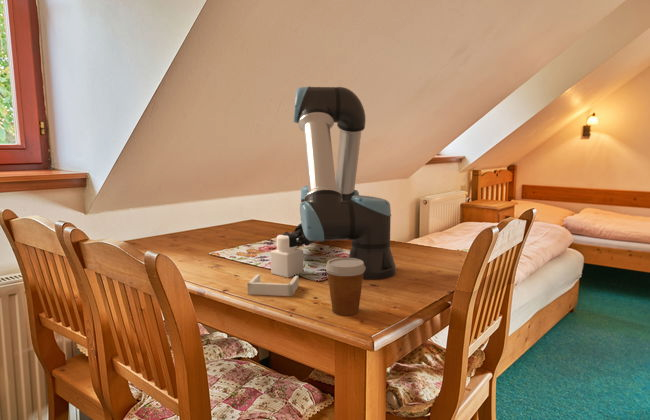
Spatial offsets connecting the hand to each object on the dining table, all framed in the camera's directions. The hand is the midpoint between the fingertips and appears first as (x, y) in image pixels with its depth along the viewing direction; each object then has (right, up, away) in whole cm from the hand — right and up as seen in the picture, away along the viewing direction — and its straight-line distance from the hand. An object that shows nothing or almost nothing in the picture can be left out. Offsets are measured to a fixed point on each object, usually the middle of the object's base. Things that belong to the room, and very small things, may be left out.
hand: (292, 246), depth 154 cm
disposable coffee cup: (+15, -13, -38) cm, 43 cm away
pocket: (-4, -10, -22) cm, 25 cm away
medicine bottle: (-1, -8, -6) cm, 10 cm away
